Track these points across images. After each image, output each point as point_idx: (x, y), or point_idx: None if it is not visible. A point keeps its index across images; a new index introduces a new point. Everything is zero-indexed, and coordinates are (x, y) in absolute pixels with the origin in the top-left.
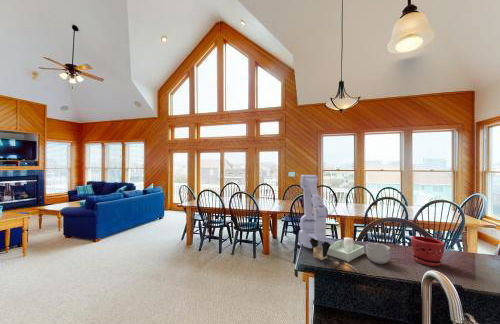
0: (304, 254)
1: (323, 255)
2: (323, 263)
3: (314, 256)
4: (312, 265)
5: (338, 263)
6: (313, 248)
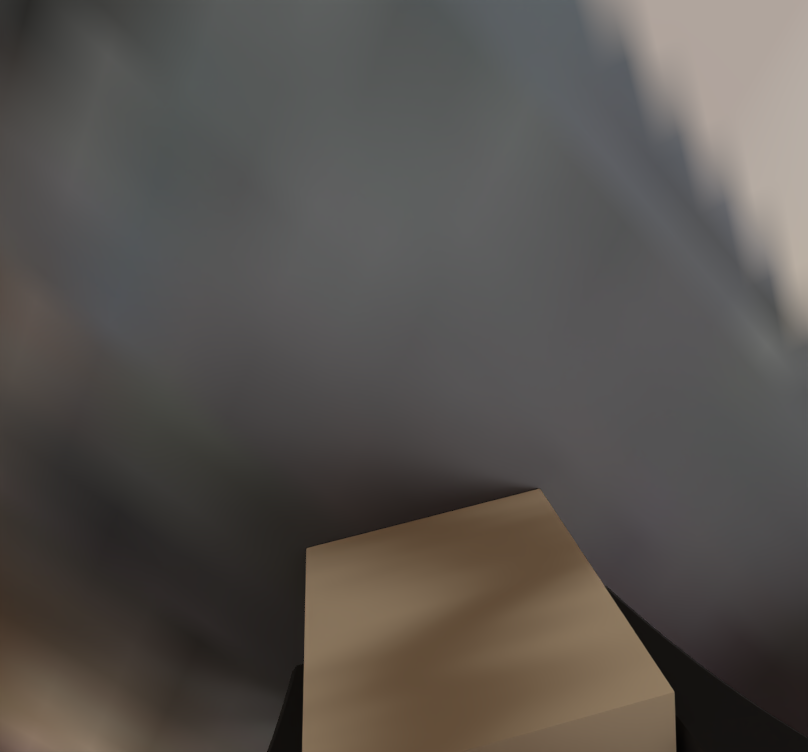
0: (776, 402)
1: None
2: (115, 458)
3: (518, 512)
4: (83, 38)
5: (9, 747)
6: (657, 668)
